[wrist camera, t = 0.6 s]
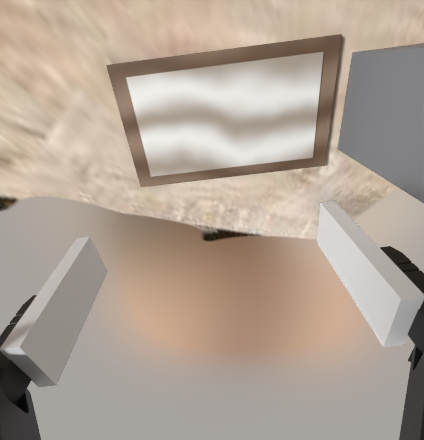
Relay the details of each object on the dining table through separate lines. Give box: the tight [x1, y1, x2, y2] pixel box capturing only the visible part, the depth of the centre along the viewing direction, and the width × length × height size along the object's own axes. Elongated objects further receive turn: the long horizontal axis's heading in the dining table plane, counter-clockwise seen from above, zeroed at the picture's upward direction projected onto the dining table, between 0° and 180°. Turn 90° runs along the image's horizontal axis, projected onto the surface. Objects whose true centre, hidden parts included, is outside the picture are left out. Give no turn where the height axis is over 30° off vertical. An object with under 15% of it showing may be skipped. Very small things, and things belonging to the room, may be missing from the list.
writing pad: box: [106, 34, 342, 187], centre depth 34 cm, size 16×28×1 cm, turn 96°
